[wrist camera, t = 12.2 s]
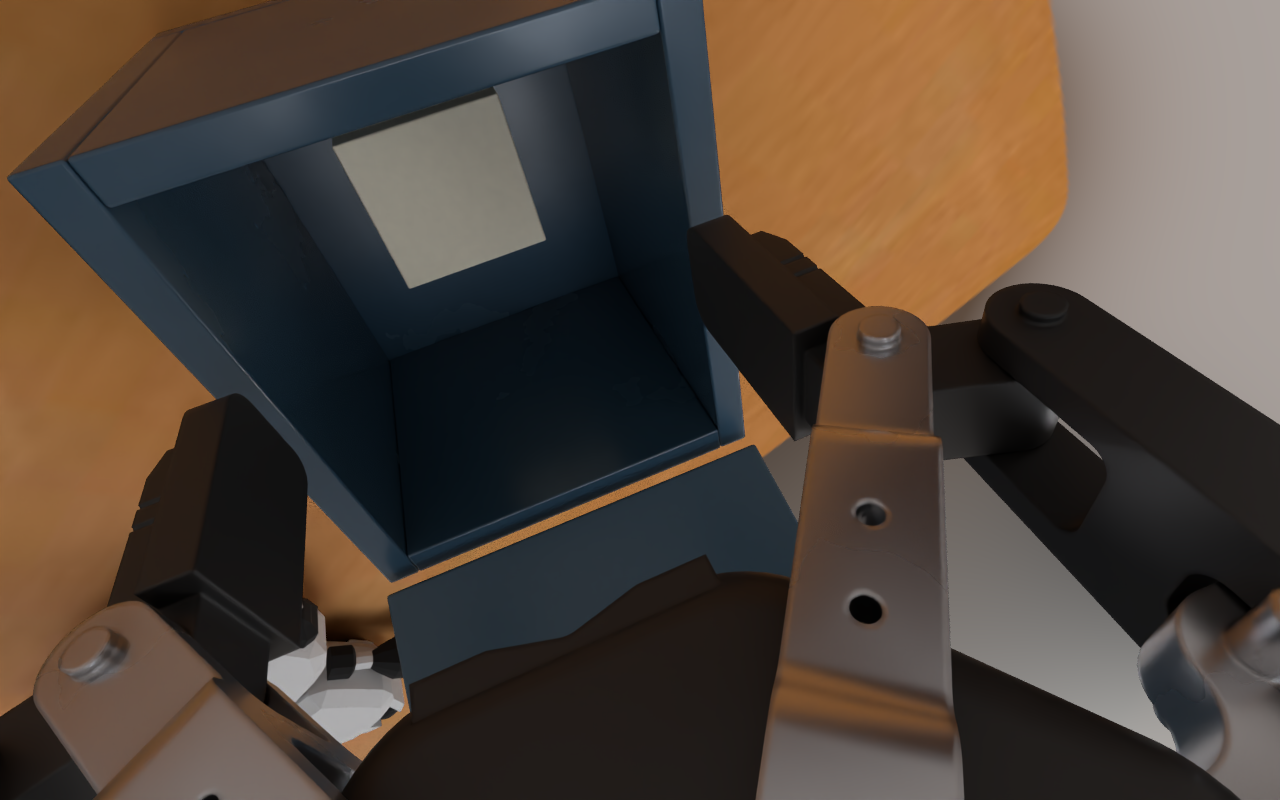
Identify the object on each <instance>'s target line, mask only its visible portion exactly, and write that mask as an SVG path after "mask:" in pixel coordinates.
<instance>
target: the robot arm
mask: <svg viewBox="0 0 1280 800" xmlns="http://www.w3.org/2000/svg"><path fill="white" fill-rule="evenodd" d="M687 246H688V253H689V260H690V266H691V273H692V280H693V287H694V294H695V300H696V304H697V308H698V311H699V314H700V316H701V319H702V321H703V323H704V325H705V326H706V328H707V330H708V331H709V332H710V334H711V335H712V336H713V337H714V339H715V340H716V341H717V343H718V344H719V345H720V346H721V348H722V349H723V350H724V352H725V353H726V354H727V355H728V357H729V358H730V359H731V360H732V362H733V363H734V364H735V366H736V367H737V368H738V369H739V371H740V372H741V373H742V375H743V376H744V377H745V378H746V380H747V381H748V382H749V383H750V385H751V386H752V387H753V389H754V390H755V391H756V392H757V394H758V395H759V396H760V398H761V399H762V400H763V401H764V403H765V404H766V405H767V406H768V408H769V409H770V410H771V412H772V413H773V414H774V415H775V417H776V418H777V419H778V421H779V422H780V423H781V424H782V426H783V427H784V428H785V430H786V431H787V432H788V433H789V435H790V436H791V437H792V438H793V440H794V441H797V440H799V439H802V438H804V437H806V436H808V435H811V437H810V443H809V450H808V457H807V464H806V472H805V479H804V486H803V493H802V500H801V507H800V514H799V521H798V528H797V535H796V542H795V549H794V556H793V563H792V570H791V577H787V576H783V575H778V574H772V573H767V572H754V571H738V572H725V573H719V574H716V572H715V571H714V569H713V567H712V565H711V563H710V561H709V559H708V557H707V555H706V554H704V555H702V556H700V557H698V558H695V559H693V560H691V561H689V562H686V563H684V564H682V565H679V566H677V567H675V568H673V569H670V570H668V571H666V572H664V573H661V574H659V575H657V576H654V577H652V578H650V579H648V580H645V581H643V582H641V583H639V584H636V585H635V586H634V587H632V588H631V589H630V590H628V591H627V592H626V593H624V594H623V595H622V596H620V597H619V598H618V599H616V600H615V601H614V602H613V603H611V604H610V605H609V606H607V607H606V608H605V609H603V610H602V611H601V612H599V613H598V614H597V615H595V616H594V617H593V618H591V619H590V620H589V621H587V622H586V623H585V624H583V625H582V626H581V627H579V628H578V629H577V630H575V631H574V632H572V633H571V634H569V635H567V636H564V637H560V638H555V639H550V640H544V641H538V642H533V643H527V644H521V645H516V646H510V647H505V648H499V649H493V650H488V651H484V652H482V653H480V654H477V655H475V656H473V657H470V658H468V659H466V660H464V661H461V662H459V663H457V664H455V665H452V666H450V667H448V668H445V669H443V670H441V671H439V672H436V673H434V674H432V675H430V676H427V677H425V678H423V679H420V680H418V681H416V682H414V683H411V684H409V690H410V702H411V712H410V713H409V714H407V715H406V716H405V717H404V718H402V719H401V720H400V721H399V722H398V723H397V724H396V725H395V726H394V727H393V728H391V729H390V730H389V731H388V732H387V733H386V734H385V735H384V736H383V737H382V739H381V740H380V741H379V742H378V743H377V744H376V745H375V746H374V747H373V748H372V750H371V751H370V752H369V753H368V755H367V756H366V757H365V759H364V760H363V761H361V760H360V759H358V758H357V757H356V756H355V755H353V754H352V753H351V752H350V751H348V750H347V749H346V748H345V747H344V746H342V745H341V744H340V743H339V742H338V741H337V740H336V739H335V738H334V737H332V736H331V735H330V734H329V733H328V732H327V731H326V730H325V729H324V728H323V727H321V726H320V725H319V724H318V723H317V722H316V721H315V720H314V719H313V718H312V717H310V716H309V715H308V714H307V713H306V712H305V711H304V710H303V709H302V708H300V707H299V706H298V705H297V704H296V703H295V702H294V701H293V700H292V699H291V698H289V697H288V696H287V695H286V694H285V693H284V692H283V691H282V690H281V689H280V688H278V687H277V686H276V685H274V684H273V683H271V682H270V681H268V680H267V674H268V663H269V661H272V660H274V659H277V658H279V657H281V656H284V655H286V654H288V653H291V652H293V651H295V650H298V649H300V637H301V616H302V596H303V575H304V555H305V534H306V514H307V493H308V480H307V475H306V472H305V469H304V466H303V464H302V462H301V460H300V458H299V456H298V455H297V454H296V452H295V451H294V450H293V449H292V447H291V446H290V445H289V444H288V443H287V442H286V441H285V440H284V439H283V437H282V436H281V435H280V434H279V433H278V432H277V431H276V430H275V429H274V427H273V426H272V425H271V424H270V423H269V422H268V421H267V420H266V418H265V417H264V416H263V415H262V414H261V413H260V412H259V411H258V410H257V408H256V407H255V406H254V405H253V404H252V403H251V402H250V401H249V400H248V399H247V398H246V397H244V396H243V395H241V394H238V393H234V394H230V395H228V396H225V397H222V398H220V399H217V400H214V401H211V402H209V403H206V404H203V405H200V406H198V407H195V408H192V409H189V410H188V411H186V412H185V414H184V416H183V419H182V422H181V426H180V429H179V433H178V437H177V440H176V444H175V447H174V448H173V449H170V450H168V451H166V453H165V454H164V456H163V457H162V458H161V460H160V461H159V462H158V464H157V465H156V467H155V468H154V469H153V471H152V472H151V473H150V475H149V476H148V477H147V479H146V482H145V485H144V489H143V492H142V495H141V498H140V502H139V505H138V506H139V507H140V510H137V511H136V515H135V518H134V521H133V524H132V528H133V530H134V531H133V532H131V533H130V534H129V537H128V540H127V544H126V547H125V550H124V553H123V557H122V560H121V563H120V566H119V570H118V573H117V576H116V579H115V582H114V586H113V589H112V592H111V595H110V599H109V602H108V605H107V608H105V609H102V610H101V611H99V612H97V613H95V614H93V615H92V616H90V617H89V618H87V619H86V620H84V621H83V622H82V623H80V624H79V625H78V626H77V627H75V628H74V629H73V630H72V631H71V632H70V633H69V634H68V635H66V636H65V637H64V638H63V639H62V641H61V642H60V643H59V644H58V645H57V646H56V647H55V648H54V650H53V651H52V652H51V654H50V655H49V656H48V658H47V659H46V661H45V662H44V664H43V666H42V667H41V669H40V671H39V673H38V676H37V678H36V681H35V684H34V690H33V695H32V696H31V697H29V698H28V699H26V700H25V701H23V702H22V703H20V704H19V705H17V706H16V707H14V708H13V709H11V710H10V711H8V712H7V713H5V714H4V715H2V716H1V717H0V800H1280V425H1279V424H1278V423H1276V422H1275V421H1273V420H1272V419H1270V418H1269V417H1267V416H1265V415H1264V414H1262V413H1261V412H1259V411H1258V410H1256V409H1255V408H1253V407H1252V406H1250V405H1249V404H1247V403H1246V402H1244V401H1242V400H1241V399H1239V398H1238V397H1236V396H1235V395H1233V394H1232V393H1230V392H1229V391H1227V390H1226V389H1224V388H1223V387H1221V386H1219V385H1218V384H1216V383H1215V382H1213V381H1212V380H1210V379H1209V378H1207V377H1206V376H1204V375H1203V374H1201V373H1200V372H1198V371H1197V370H1195V369H1193V368H1192V367H1191V366H1189V365H1187V364H1186V363H1184V362H1183V361H1181V360H1180V359H1178V358H1177V357H1175V356H1174V355H1172V354H1171V353H1169V352H1168V351H1166V350H1164V349H1163V348H1161V347H1160V346H1158V345H1157V344H1155V343H1154V342H1152V341H1151V340H1149V339H1148V338H1146V337H1145V336H1143V335H1141V334H1140V333H1138V332H1137V331H1135V330H1134V329H1132V328H1130V327H1129V326H1128V325H1126V324H1125V323H1123V322H1121V321H1120V320H1118V319H1117V318H1115V317H1114V316H1112V315H1111V314H1109V313H1108V312H1106V311H1105V310H1103V309H1102V308H1100V307H1099V306H1097V305H1095V304H1094V303H1092V302H1091V301H1089V300H1088V299H1086V298H1085V297H1083V296H1081V295H1080V294H1078V293H1076V292H1073V291H1071V290H1069V289H1065V288H1062V287H1058V286H1054V285H1048V284H1037V283H1036V284H1034V283H1029V284H1018V285H1013V286H1009V287H1006V288H1003V289H1001V290H999V291H997V292H996V293H994V294H993V295H992V296H991V297H990V298H989V299H988V301H987V302H986V305H985V309H984V313H983V317H982V319H979V320H972V321H965V322H958V323H951V324H944V325H937V326H926V325H925V324H924V322H923V321H921V320H920V319H919V318H918V317H916V316H914V315H913V314H911V313H909V312H906V311H904V310H900V309H897V308H892V307H884V306H871V307H865V306H864V305H863V304H862V303H860V302H859V301H858V300H857V299H856V298H855V297H853V296H852V295H851V294H850V293H849V292H847V291H846V290H845V289H844V288H843V287H842V286H840V285H839V284H838V283H837V282H836V281H835V280H833V279H832V278H831V277H830V276H829V275H828V274H826V273H825V272H824V271H823V270H822V269H818V268H817V265H816V264H815V263H813V262H812V261H811V260H810V259H809V258H808V257H804V256H803V253H802V252H801V251H799V250H798V249H797V248H796V247H795V246H793V245H792V244H791V243H790V242H789V241H788V240H786V239H783V238H781V237H778V236H775V235H772V234H769V233H766V232H763V231H760V232H757V233H755V234H752V235H750V234H749V233H748V232H747V231H746V230H745V229H744V228H742V227H741V226H740V225H739V224H738V223H737V222H736V221H735V220H734V219H733V218H732V217H730V216H729V215H724V216H721V217H718V218H716V219H713V220H710V221H707V222H705V223H702V224H699V225H697V226H694V227H691V228H689V229H688V230H687ZM1059 417H1060V418H1061V419H1062V420H1063V421H1064V422H1065V423H1067V424H1068V425H1069V426H1070V427H1071V428H1072V429H1074V430H1075V431H1076V432H1077V433H1078V434H1080V435H1081V436H1082V437H1083V438H1084V439H1086V440H1087V441H1088V442H1089V443H1090V444H1091V445H1092V446H1093V447H1094V448H1095V449H1096V450H1097V451H1098V453H1099V454H1100V456H1101V457H1102V459H1103V460H1102V459H1101V458H1099V457H1098V456H1097V455H1096V454H1095V453H1094V452H1092V451H1091V450H1090V449H1089V448H1088V447H1087V446H1085V445H1084V444H1083V443H1082V442H1081V441H1080V440H1078V439H1077V438H1076V437H1075V436H1074V435H1073V434H1072V433H1070V432H1069V431H1068V430H1067V429H1066V428H1065V427H1064V426H1062V425H1061V424H1060V423H1059V422H1058V419H1059ZM957 458H964V459H965V460H966V461H967V462H968V463H969V465H971V467H972V468H973V469H974V470H975V471H976V472H977V473H978V474H979V475H980V476H981V477H982V478H983V480H984V481H985V482H986V483H987V484H988V485H989V486H990V487H991V488H992V489H993V490H994V491H995V492H996V494H997V495H998V496H999V497H1000V498H1001V499H1002V500H1003V501H1004V502H1005V503H1006V504H1007V505H1008V506H1009V507H1010V508H1011V510H1012V511H1013V512H1014V513H1015V514H1016V515H1017V516H1018V517H1019V518H1020V519H1021V520H1022V521H1023V522H1024V524H1025V525H1026V526H1027V527H1028V528H1030V530H1031V531H1032V532H1033V533H1034V534H1035V535H1036V536H1037V537H1038V539H1039V540H1040V541H1041V542H1042V543H1043V544H1044V545H1045V546H1046V547H1047V548H1048V549H1049V550H1050V551H1051V552H1052V554H1053V555H1054V556H1055V557H1056V558H1057V559H1058V560H1059V561H1060V562H1061V563H1062V564H1063V565H1064V566H1065V567H1066V569H1067V570H1069V572H1070V573H1071V574H1072V575H1073V576H1074V577H1075V578H1076V579H1077V580H1078V581H1079V582H1080V583H1081V584H1082V586H1083V587H1084V588H1085V589H1086V590H1087V591H1088V592H1089V593H1090V594H1091V595H1092V596H1093V597H1094V599H1095V600H1096V601H1097V602H1098V603H1099V604H1100V605H1101V606H1102V607H1103V608H1104V609H1105V610H1106V611H1107V612H1108V614H1110V615H1111V617H1112V618H1113V619H1114V620H1115V621H1116V622H1117V623H1118V624H1119V625H1120V626H1121V627H1122V629H1124V631H1125V632H1126V633H1127V634H1128V635H1129V636H1130V637H1131V638H1132V639H1133V640H1134V641H1135V642H1136V644H1138V646H1139V647H1140V648H1141V649H1140V652H1139V655H1138V663H1137V667H1138V674H1139V678H1140V681H1141V684H1142V686H1143V689H1144V691H1145V692H1146V694H1147V696H1148V698H1149V699H1150V700H1151V702H1152V704H1153V708H1154V711H1155V714H1156V715H1157V718H1158V719H1159V720H1160V722H1161V723H1162V724H1163V725H1164V726H1165V727H1166V728H1167V729H1168V730H1170V732H1171V734H1172V737H1173V740H1174V743H1175V745H1176V751H1177V752H1175V751H1174V750H1172V749H1170V748H1168V747H1166V746H1164V745H1162V744H1160V743H1158V742H1156V741H1154V740H1152V739H1150V738H1148V737H1145V736H1143V735H1141V734H1139V733H1137V732H1134V731H1132V730H1130V729H1128V728H1126V727H1123V726H1121V725H1119V724H1117V723H1114V722H1112V721H1110V720H1108V719H1106V718H1104V717H1101V716H1099V715H1097V714H1095V713H1093V712H1090V711H1088V710H1086V709H1084V708H1082V707H1079V706H1077V705H1075V704H1073V703H1071V702H1068V701H1066V700H1064V699H1062V698H1060V697H1057V696H1055V695H1053V694H1051V693H1049V692H1046V691H1044V690H1042V689H1040V688H1038V687H1035V686H1033V685H1031V684H1029V683H1027V682H1024V681H1022V680H1020V679H1018V678H1016V677H1013V676H1011V675H1009V674H1007V673H1004V672H1002V671H1000V670H998V669H995V668H993V667H991V666H989V665H986V664H985V663H983V662H980V661H978V660H976V659H974V658H972V657H969V656H967V655H965V654H963V653H961V652H958V651H956V650H954V649H952V648H951V647H950V646H951V644H950V618H949V595H948V594H949V592H948V567H947V541H946V516H945V489H944V464H943V460H949V459H957Z"/></svg>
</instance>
